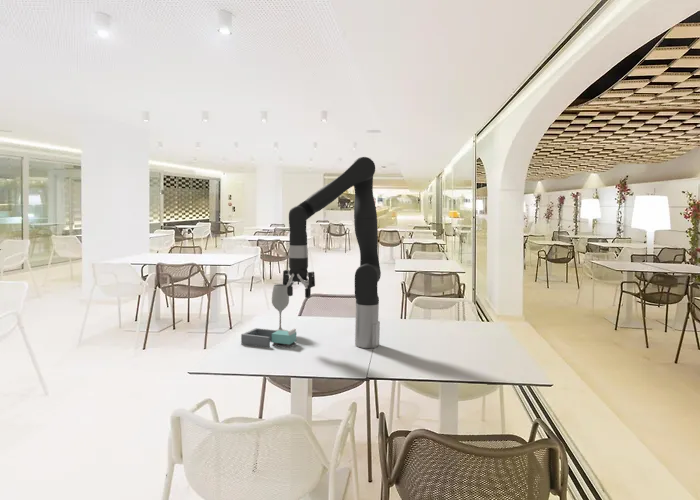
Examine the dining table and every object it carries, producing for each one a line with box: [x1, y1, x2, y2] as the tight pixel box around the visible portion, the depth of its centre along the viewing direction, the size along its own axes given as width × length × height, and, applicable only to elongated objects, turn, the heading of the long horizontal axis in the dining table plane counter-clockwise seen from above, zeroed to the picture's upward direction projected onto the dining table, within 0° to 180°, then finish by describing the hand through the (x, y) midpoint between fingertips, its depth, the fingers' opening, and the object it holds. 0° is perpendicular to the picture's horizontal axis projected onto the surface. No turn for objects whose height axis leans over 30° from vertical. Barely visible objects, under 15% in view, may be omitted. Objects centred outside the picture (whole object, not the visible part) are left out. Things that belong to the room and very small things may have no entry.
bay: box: [240, 327, 278, 348], centre depth 198 cm, size 12×12×4 cm
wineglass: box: [271, 283, 290, 331], centre depth 214 cm, size 8×8×21 cm
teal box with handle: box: [271, 328, 297, 349], centre depth 195 cm, size 8×6×6 cm
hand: (298, 296), depth 194 cm, fingers open, 8 cm apart
